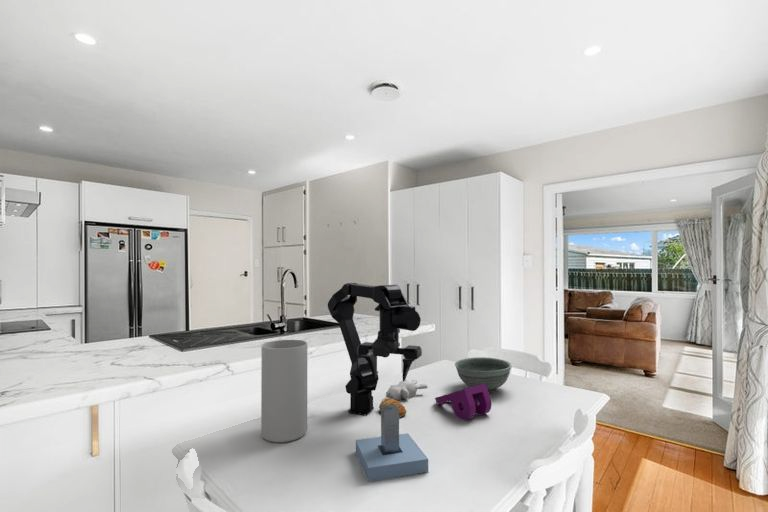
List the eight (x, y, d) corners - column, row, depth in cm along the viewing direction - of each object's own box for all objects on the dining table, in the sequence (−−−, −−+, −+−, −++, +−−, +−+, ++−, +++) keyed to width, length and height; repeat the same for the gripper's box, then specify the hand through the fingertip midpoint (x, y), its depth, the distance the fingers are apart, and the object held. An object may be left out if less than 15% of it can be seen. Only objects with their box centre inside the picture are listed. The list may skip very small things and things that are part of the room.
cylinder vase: (292, 420, 118) (292, 338, 119) (316, 433, 109) (316, 343, 110) (253, 433, 109) (253, 344, 110) (275, 448, 100) (275, 350, 101)
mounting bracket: (437, 426, 128) (473, 418, 115) (429, 399, 132) (464, 389, 118) (457, 419, 134) (495, 411, 120) (450, 394, 137) (485, 383, 123)
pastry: (411, 415, 123) (411, 403, 123) (395, 421, 118) (395, 408, 118) (392, 407, 130) (392, 395, 130) (376, 412, 126) (376, 400, 126)
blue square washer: (355, 451, 98) (355, 439, 98) (407, 444, 102) (407, 433, 102) (368, 481, 85) (368, 467, 85) (428, 472, 89) (428, 458, 89)
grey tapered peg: (381, 459, 95) (381, 405, 95) (394, 457, 96) (394, 403, 96) (384, 466, 91) (384, 410, 92) (399, 464, 92) (398, 408, 93)
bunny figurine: (380, 386, 139) (412, 373, 148) (382, 400, 139) (413, 387, 148) (397, 393, 131) (429, 379, 140) (398, 407, 132) (430, 393, 141)
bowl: (519, 398, 137) (519, 370, 137) (460, 398, 137) (459, 370, 137) (502, 381, 157) (502, 356, 158) (450, 381, 158) (450, 356, 158)
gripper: (349, 329, 112) (349, 383, 112) (410, 333, 106) (411, 391, 105) (364, 323, 123) (364, 373, 122) (422, 327, 116) (422, 379, 116)
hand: (389, 379), depth 116 cm, fingers open, 9 cm apart
